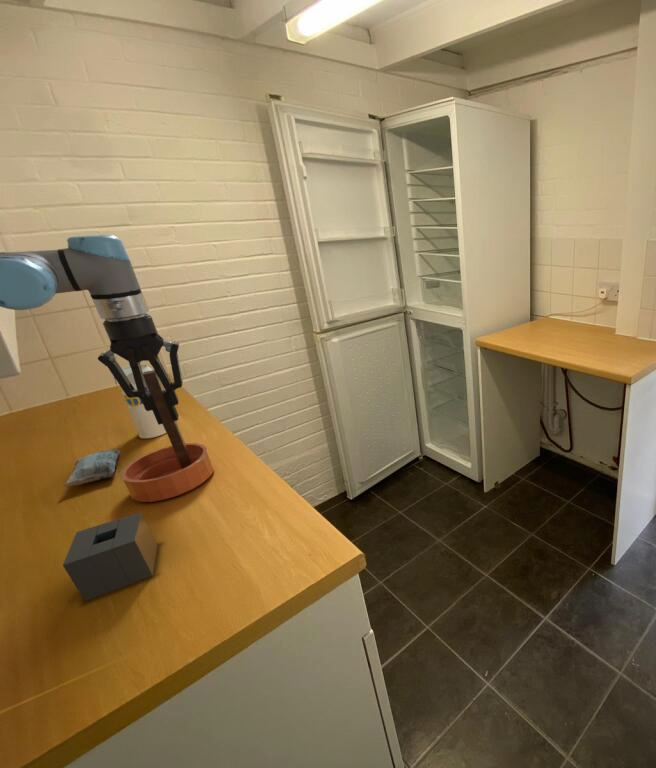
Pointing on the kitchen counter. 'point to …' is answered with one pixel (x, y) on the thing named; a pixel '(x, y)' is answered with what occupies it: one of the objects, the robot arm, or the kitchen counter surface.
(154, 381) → the wooden stick
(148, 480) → the bowl
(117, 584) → the stick holder
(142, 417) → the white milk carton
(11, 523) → the kitchen counter surface
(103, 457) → the packaged food
